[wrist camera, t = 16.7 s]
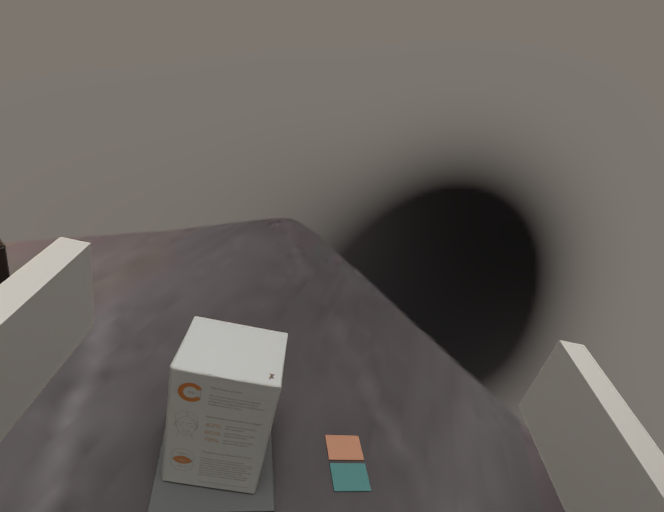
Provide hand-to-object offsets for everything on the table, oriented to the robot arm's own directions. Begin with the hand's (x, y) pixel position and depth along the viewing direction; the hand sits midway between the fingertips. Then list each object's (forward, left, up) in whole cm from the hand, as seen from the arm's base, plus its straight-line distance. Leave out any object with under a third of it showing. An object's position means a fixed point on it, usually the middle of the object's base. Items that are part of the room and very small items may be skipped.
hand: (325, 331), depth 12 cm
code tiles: (-12, -17, -30) cm, 36 cm away
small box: (+1, -17, -29) cm, 34 cm away
